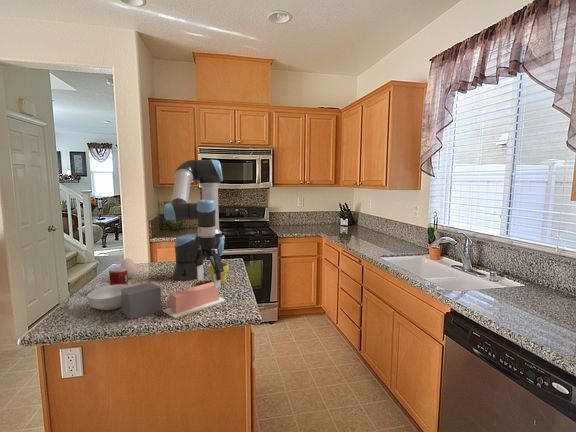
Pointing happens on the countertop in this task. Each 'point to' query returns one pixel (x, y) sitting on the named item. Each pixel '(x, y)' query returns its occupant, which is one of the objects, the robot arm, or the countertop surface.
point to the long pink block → (193, 297)
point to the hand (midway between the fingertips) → (208, 283)
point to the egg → (129, 267)
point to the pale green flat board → (193, 309)
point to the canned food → (118, 276)
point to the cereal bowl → (106, 297)
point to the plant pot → (223, 274)
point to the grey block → (141, 299)
